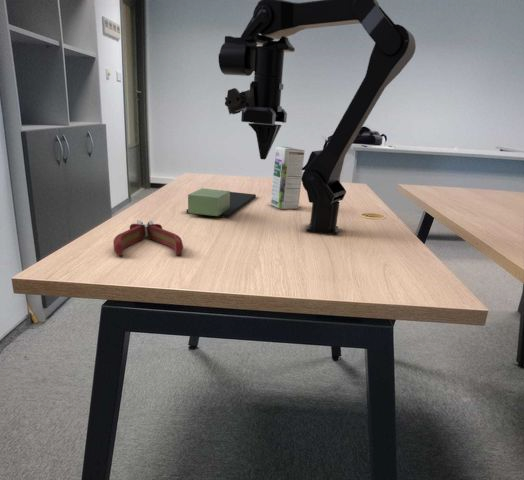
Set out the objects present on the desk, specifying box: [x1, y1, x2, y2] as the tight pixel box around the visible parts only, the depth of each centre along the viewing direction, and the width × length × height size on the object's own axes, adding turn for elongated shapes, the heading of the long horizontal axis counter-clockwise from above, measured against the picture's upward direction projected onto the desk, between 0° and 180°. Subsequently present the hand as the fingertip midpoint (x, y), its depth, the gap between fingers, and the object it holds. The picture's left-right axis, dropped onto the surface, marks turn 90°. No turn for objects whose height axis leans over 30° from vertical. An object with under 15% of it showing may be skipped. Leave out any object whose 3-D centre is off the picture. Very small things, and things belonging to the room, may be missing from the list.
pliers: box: [112, 219, 184, 257], centre depth 86 cm, size 12×20×3 cm, turn 15°
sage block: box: [187, 187, 231, 217], centre depth 109 cm, size 4×7×10 cm
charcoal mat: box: [186, 191, 257, 219], centre depth 122 cm, size 30×10×1 cm, turn 168°
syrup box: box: [270, 146, 305, 210], centre depth 121 cm, size 6×6×14 cm
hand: (263, 159), depth 103 cm, fingers closed
